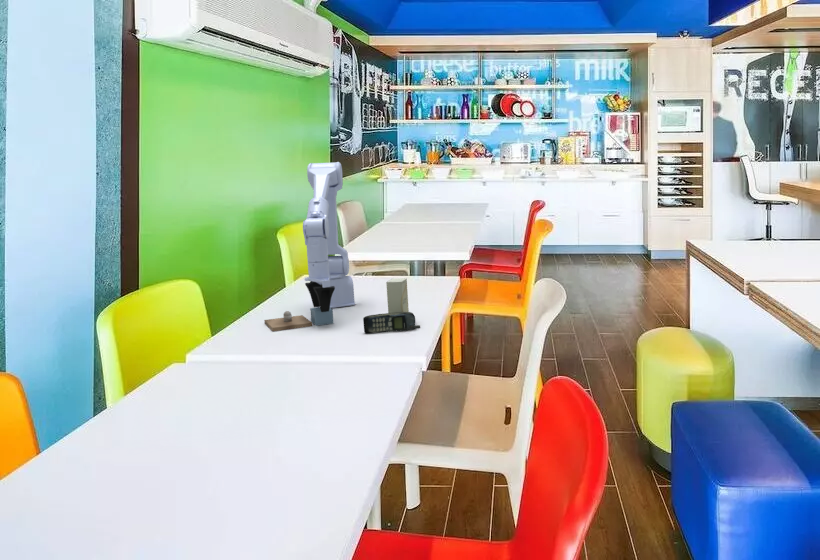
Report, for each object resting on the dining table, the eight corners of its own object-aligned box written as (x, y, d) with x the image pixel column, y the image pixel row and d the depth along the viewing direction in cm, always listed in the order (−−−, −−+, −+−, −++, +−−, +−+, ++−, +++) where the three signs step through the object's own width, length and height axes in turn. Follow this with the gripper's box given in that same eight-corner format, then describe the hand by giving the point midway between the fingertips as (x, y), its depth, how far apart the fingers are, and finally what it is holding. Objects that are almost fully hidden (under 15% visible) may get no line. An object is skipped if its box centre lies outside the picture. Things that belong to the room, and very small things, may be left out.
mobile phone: (363, 317, 191) (420, 311, 193) (362, 314, 194) (418, 308, 196) (364, 335, 192) (421, 329, 194) (363, 333, 195) (419, 326, 197)
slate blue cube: (328, 319, 211) (327, 306, 210) (333, 323, 206) (332, 309, 205) (311, 322, 209) (310, 308, 208) (316, 325, 204) (315, 311, 203)
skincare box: (404, 326, 199) (401, 281, 196) (388, 326, 200) (385, 282, 198) (409, 321, 205) (407, 277, 203) (394, 320, 206) (391, 277, 204)
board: (302, 318, 214) (301, 305, 213) (312, 326, 204) (311, 312, 203) (264, 323, 210) (263, 310, 209) (272, 331, 200) (271, 317, 199)
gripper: (297, 259, 209) (300, 306, 212) (310, 265, 196) (314, 315, 199) (321, 257, 212) (324, 303, 214) (336, 263, 199) (339, 312, 201)
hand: (321, 309), depth 207 cm, fingers open, 7 cm apart
